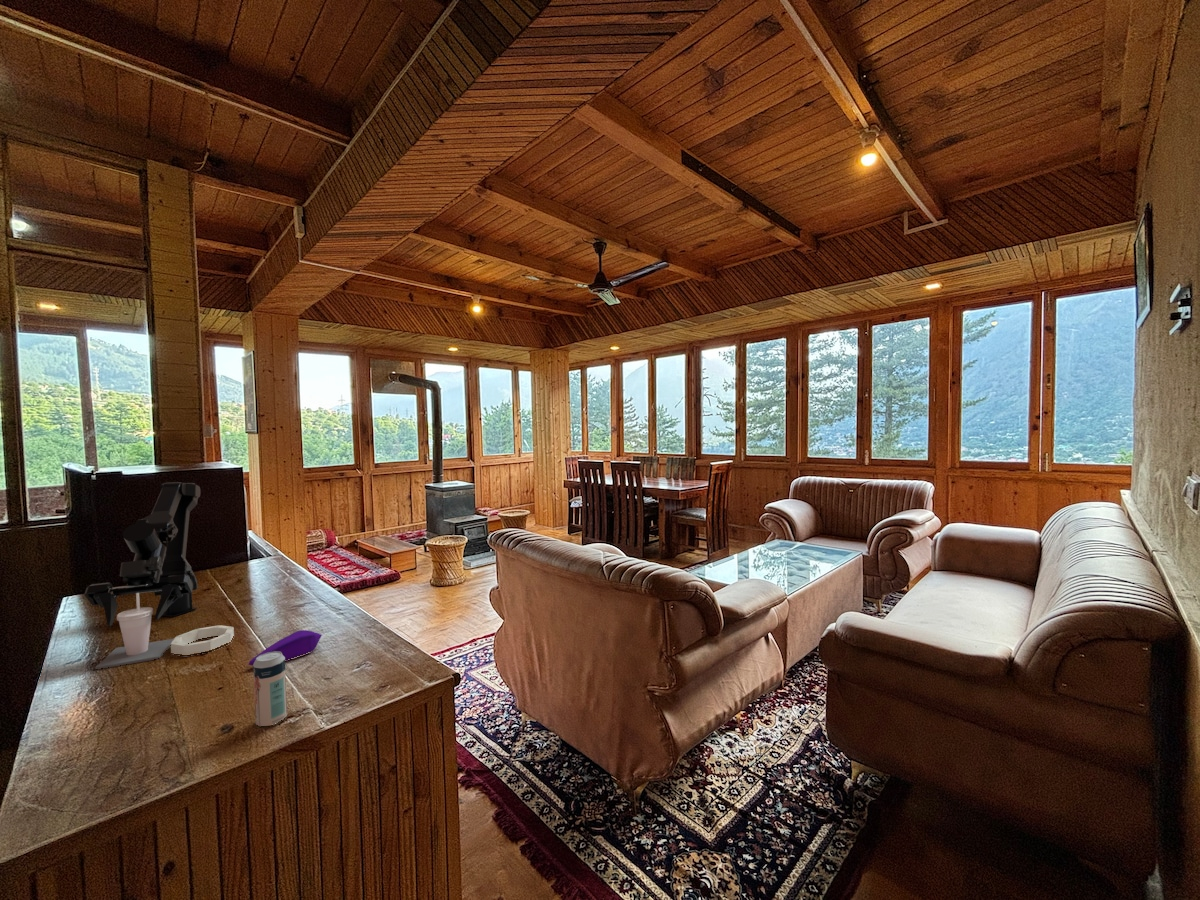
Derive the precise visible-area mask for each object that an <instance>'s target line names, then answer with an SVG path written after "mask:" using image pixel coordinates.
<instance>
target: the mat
mask: <svg viewBox="0 0 1200 900" xmlns="http://www.w3.org/2000/svg"><path fill="white" fill-rule="evenodd" d="M174 639H175V638H169V639H163V640H158V641H149V644H148V650H147V651H146V652H143V653H140V654H137V655H127V654H126V649H125V646H120V647H119V646H118V647H115V648H114V649H113V650H112V651H111V652H110V653H109V654H108V655H107V656H106V657H104V659H103V660H100V662H99V663H98V664H97V665H96V666H95V667H94V668H95V669H98V670H102V669H101V668H103V669H109V668H115V667H120V665H121V666H126V664H127V665H131V664H136V663H137V664H138V663H143V662H149V661H150V662H151V661H155V660H154V659H156V660H159V659H158V658H160V657H161V656H162V657H163V655H164V654H165V653H166V652H167V651H168V650H169V649H170V648H171V646H170V645H171V643H172V641H173V640H174ZM166 650H167V651H166ZM165 651H166V652H165ZM164 652H165V653H164ZM163 653H164V654H163ZM162 657H161V658H162ZM161 658H160V659H161ZM108 667H109V668H108Z"/></svg>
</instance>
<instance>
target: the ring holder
mask: <svg viewBox="0 0 1200 900" xmlns="http://www.w3.org/2000/svg"><path fill="white" fill-rule="evenodd" d="M211 636H218V637H213V638H210V639H208V638H207V637H211ZM233 636H234V637H235V628H234V626H230V625H229V626H228V625H221V624H220V625H212V626H206V627H201V628H200V627H199V628H195V629H193V630H190V631H188V632H184V633H182V634H179V635H176V636H175V637H174V638H173V639H174V640H173V641H172V643H171V646H170V654H171V653H174V654H182V655H190V654H194V653H201V652H205V651H209V650H212V649H215V648H217V647H220V646H221V645H224V644H226V643H229V642H231V640H232V638H233ZM202 638H207V639H208V640H203V639H202ZM198 639H201V640H203V641H199V640H198ZM233 639H234V638H233ZM196 640H197V641H196ZM193 641H194V642H193ZM232 641H233V640H232ZM191 642H192V643H191ZM188 643H189V644H188ZM231 643H232V642H231ZM174 654H173V655H174Z"/></svg>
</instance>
